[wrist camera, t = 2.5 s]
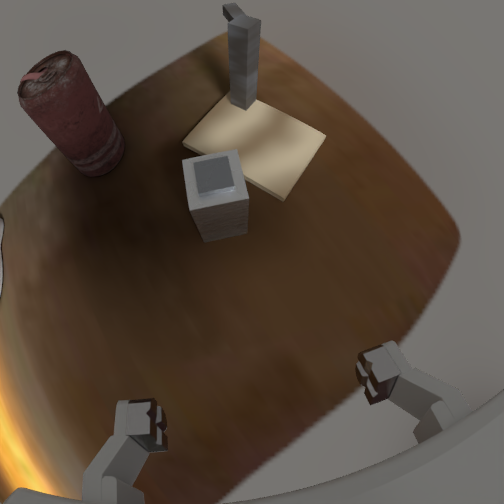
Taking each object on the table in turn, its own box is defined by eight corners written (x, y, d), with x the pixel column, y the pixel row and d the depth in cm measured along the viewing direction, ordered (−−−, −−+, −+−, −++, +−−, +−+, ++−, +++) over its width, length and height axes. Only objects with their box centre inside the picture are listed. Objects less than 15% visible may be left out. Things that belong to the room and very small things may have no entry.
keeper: (174, 141, 30) (147, 58, 18) (231, 81, 32) (228, 1, 20) (283, 201, 28) (307, 126, 17) (330, 130, 31) (363, 51, 19)
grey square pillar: (204, 242, 27) (187, 207, 19) (197, 202, 28) (180, 155, 20) (247, 233, 28) (249, 194, 19) (238, 194, 28) (237, 144, 20)
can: (83, 137, 30) (27, 60, 16) (130, 129, 30) (85, 39, 16) (73, 182, 28) (1, 111, 15) (122, 175, 29) (60, 88, 15)
